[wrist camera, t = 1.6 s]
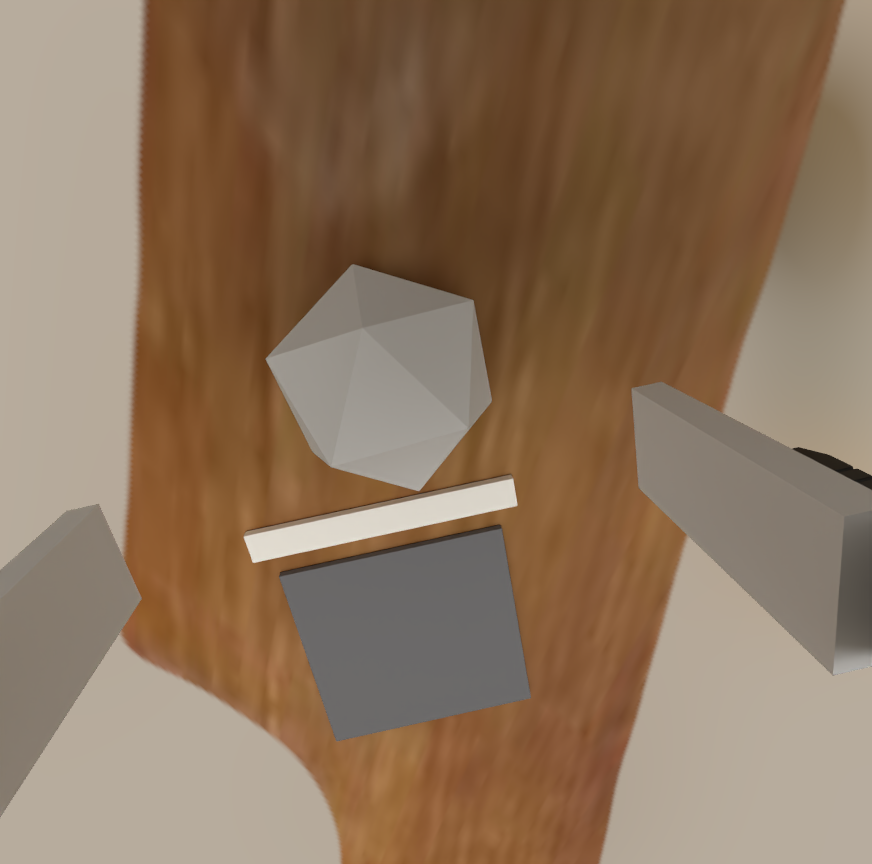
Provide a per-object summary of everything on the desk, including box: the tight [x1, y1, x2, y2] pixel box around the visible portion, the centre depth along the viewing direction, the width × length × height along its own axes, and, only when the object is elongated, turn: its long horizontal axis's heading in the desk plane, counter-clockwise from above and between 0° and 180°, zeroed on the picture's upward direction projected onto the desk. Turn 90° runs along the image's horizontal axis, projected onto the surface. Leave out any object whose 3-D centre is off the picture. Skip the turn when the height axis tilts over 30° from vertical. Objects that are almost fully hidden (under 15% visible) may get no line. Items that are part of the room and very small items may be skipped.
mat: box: [244, 475, 531, 741], centre depth 31 cm, size 14×15×1 cm
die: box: [266, 264, 492, 491], centre depth 23 cm, size 8×9×10 cm
